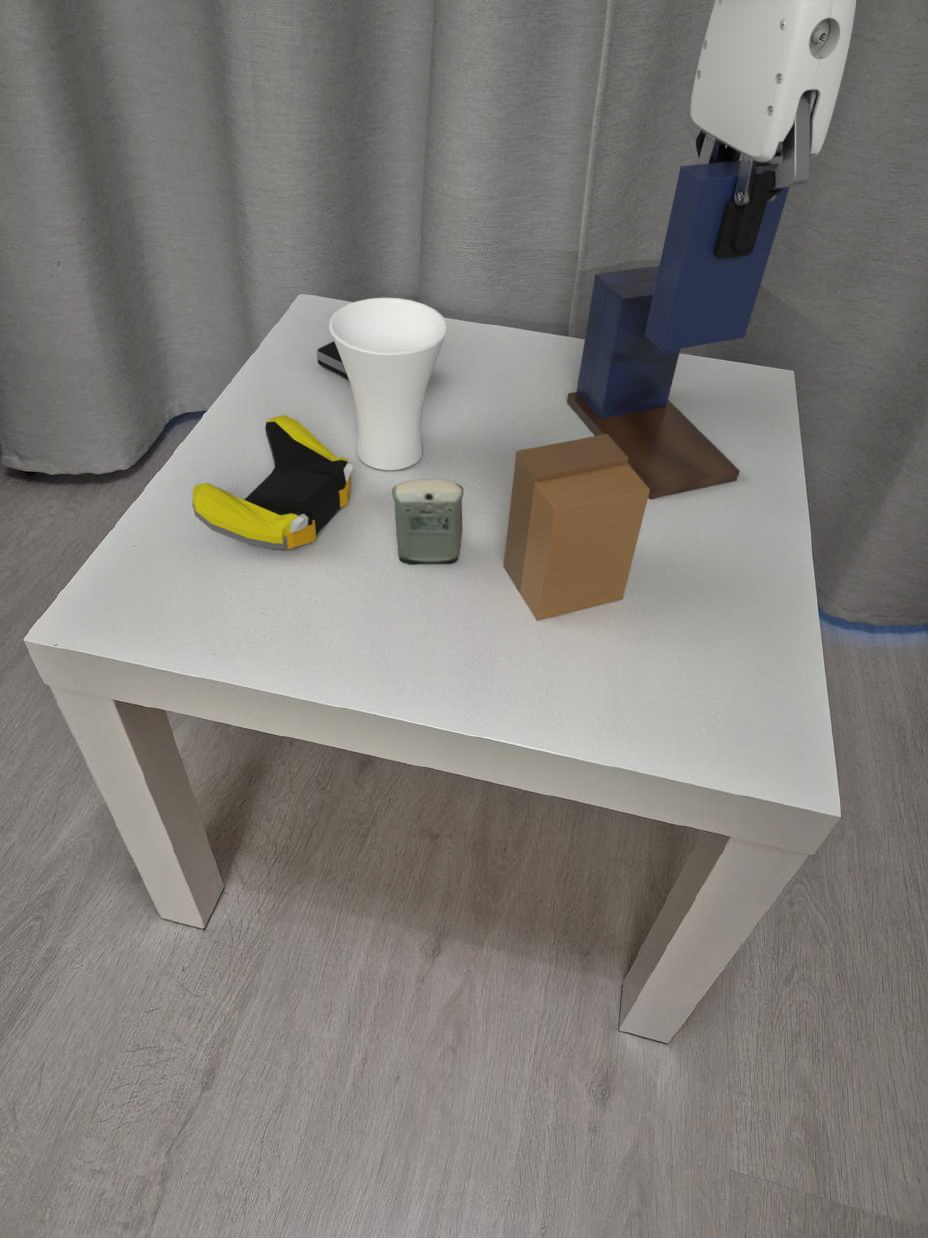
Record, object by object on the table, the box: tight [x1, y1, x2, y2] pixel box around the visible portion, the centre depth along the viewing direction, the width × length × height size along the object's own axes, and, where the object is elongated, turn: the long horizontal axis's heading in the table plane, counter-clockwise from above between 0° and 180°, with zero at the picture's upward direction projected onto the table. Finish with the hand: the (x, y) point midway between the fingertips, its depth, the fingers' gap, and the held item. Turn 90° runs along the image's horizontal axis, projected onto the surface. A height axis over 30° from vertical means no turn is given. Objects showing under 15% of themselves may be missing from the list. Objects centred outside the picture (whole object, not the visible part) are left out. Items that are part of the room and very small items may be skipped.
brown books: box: [503, 434, 650, 622], centre depth 71 cm, size 8×7×12 cm
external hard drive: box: [316, 340, 349, 380], centre depth 97 cm, size 7×11×2 cm, turn 51°
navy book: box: [645, 159, 791, 351], centre depth 67 cm, size 8×3×13 cm, turn 112°
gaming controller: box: [192, 414, 355, 551], centre depth 78 cm, size 15×6×10 cm
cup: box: [328, 297, 448, 471], centre depth 82 cm, size 10×10×14 cm
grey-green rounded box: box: [391, 478, 464, 566], centre depth 74 cm, size 6×5×8 cm
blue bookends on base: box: [566, 265, 741, 500], centre depth 86 cm, size 10×18×14 cm, turn 22°
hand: (719, 243), depth 67 cm, fingers closed on navy book, 2 cm apart
